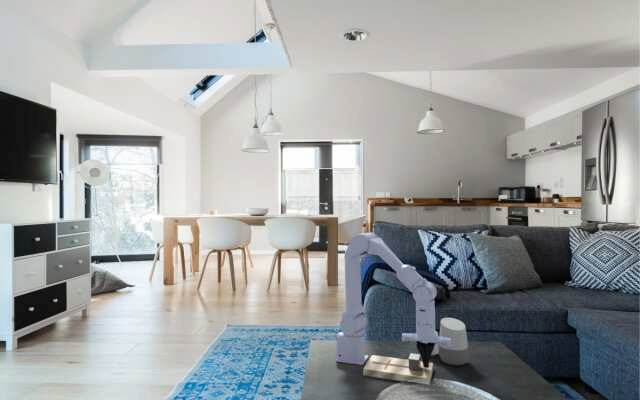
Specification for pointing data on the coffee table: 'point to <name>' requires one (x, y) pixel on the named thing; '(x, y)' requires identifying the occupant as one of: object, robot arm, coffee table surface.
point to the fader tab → (414, 361)
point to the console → (395, 369)
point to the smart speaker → (453, 342)
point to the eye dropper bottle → (435, 350)
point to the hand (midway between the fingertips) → (426, 366)
